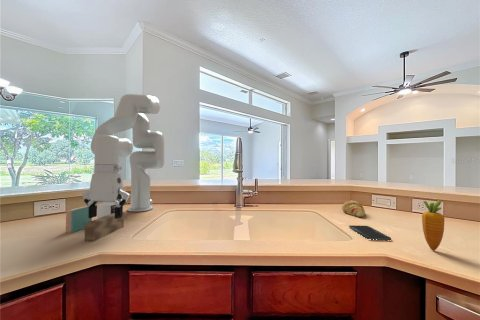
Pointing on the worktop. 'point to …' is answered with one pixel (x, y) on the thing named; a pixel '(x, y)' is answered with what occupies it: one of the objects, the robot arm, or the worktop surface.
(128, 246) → the worktop surface
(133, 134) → the robot arm
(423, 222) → the carrot
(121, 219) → the brown wooden block
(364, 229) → the phone
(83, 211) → the tile
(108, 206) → the medicine bottle
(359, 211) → the croissant
